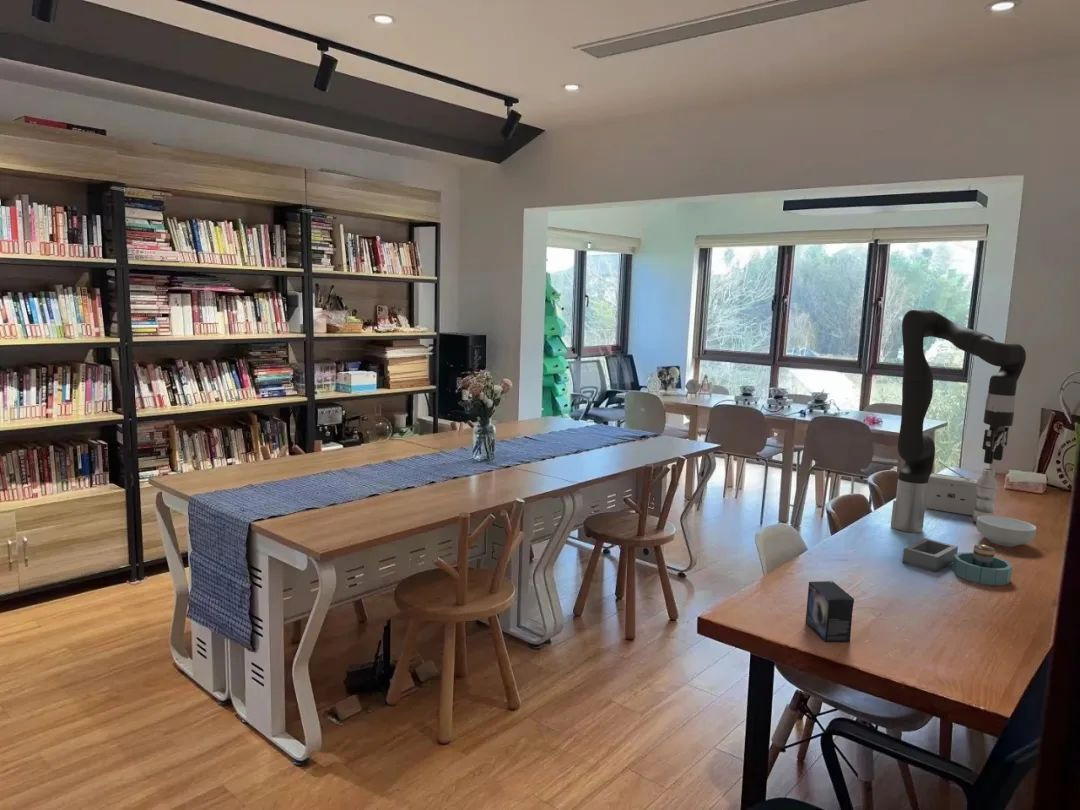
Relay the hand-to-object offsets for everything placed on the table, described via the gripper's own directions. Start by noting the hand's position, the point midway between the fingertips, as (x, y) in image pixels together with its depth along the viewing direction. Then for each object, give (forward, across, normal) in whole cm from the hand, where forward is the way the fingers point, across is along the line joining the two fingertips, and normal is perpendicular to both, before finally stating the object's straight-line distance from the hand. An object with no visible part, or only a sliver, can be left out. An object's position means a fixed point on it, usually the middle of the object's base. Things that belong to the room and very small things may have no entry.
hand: (992, 461), depth 225 cm
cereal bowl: (+30, -22, 0) cm, 38 cm away
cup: (+30, +19, +6) cm, 36 cm away
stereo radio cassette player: (+30, -49, -25) cm, 63 cm away
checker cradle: (+30, +19, -8) cm, 36 cm away
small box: (+30, +91, -4) cm, 96 cm away
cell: (+29, +19, +6) cm, 35 cm away
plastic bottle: (+30, -40, -12) cm, 52 cm away
